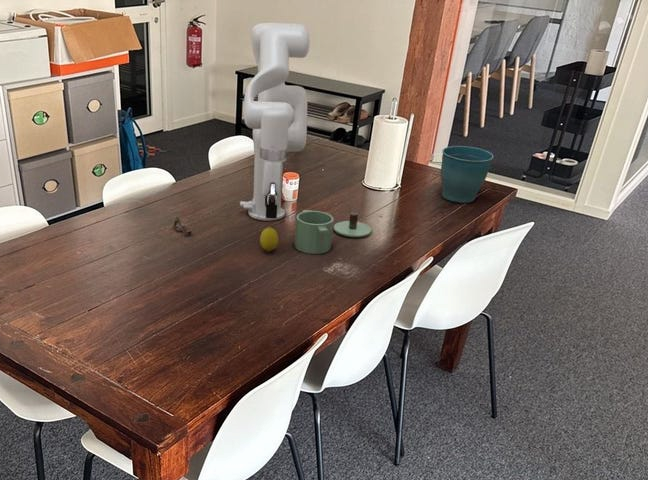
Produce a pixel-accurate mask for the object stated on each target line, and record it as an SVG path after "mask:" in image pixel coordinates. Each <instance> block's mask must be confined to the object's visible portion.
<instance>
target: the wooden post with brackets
mask: <svg viewBox="0 0 648 480" xmlns="http://www.w3.org/2000/svg"><path fill="white" fill-rule="evenodd" d="M173 220H174V222H173V224H172V228H173V229H175V230H176V231H177V232H181V229H182V230H183V232H184V233H185V236H186V237H188V236H191V235H192V230H191V229H188V228H187V227H186V226H185V224H184V223H183V222H182V221H181V220H180V218H179V216H176V215H174V216H173ZM177 224H178V225H177Z"/></svg>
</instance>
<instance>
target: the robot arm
mask: <svg viewBox="0 0 648 480" xmlns="http://www.w3.org/2000/svg"><path fill="white" fill-rule="evenodd" d="M310 41H311V40H310V33H309V31H308V28H307V26H306V25H305V24H303V23H289V22H286V23H285V22H260V23H258V24H256V25H254V26H253V27H252V29H251V33H250V42H251V49H252V54H253V56H254V59H255V63H256V66H257V74H255V75H254V77H252V78H251V80H250V81H249V83H248V85H247V86H246V89H245V92H244V97H243V121H244V124H245V126H246V127H247V128H248V129H252V143H253V153H254V155H253V157H254V158H253V162H254V163H253V165H254V167H253V193H252V194H253V196H252V199H251V200H248V201H242V200H241V201H239V208H243V210H248V212H247V213H248V215H249V217H251V218H252V219H255V220H257V221H258V220H259V221H264V222H265V221H266V222H267V221H268V222H269V221H270V222H271V221H278V220H281V219H283V218H284V217H285V215H286V212H285V210H284V208H282V207H281V206H282V187H283V171H284V169H283V168H284V165H283V163H285V162H286V161H287V153H288V152H292V153H293V152H297V153H298V152H302V151H303V150H304V149H305V148H306V145H307V132H308V95H307V91H306V89H305V88H304V87H303V86H300V85H288V84H287V85H286V84H285V83H286V81H287V80H288V78H289V76H290V58H294V59H295V58H298V59H304V58H306V57H307V55H308V53H309V51H310V45H311V44H310ZM256 97H257V100H255V98H256Z"/></svg>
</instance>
